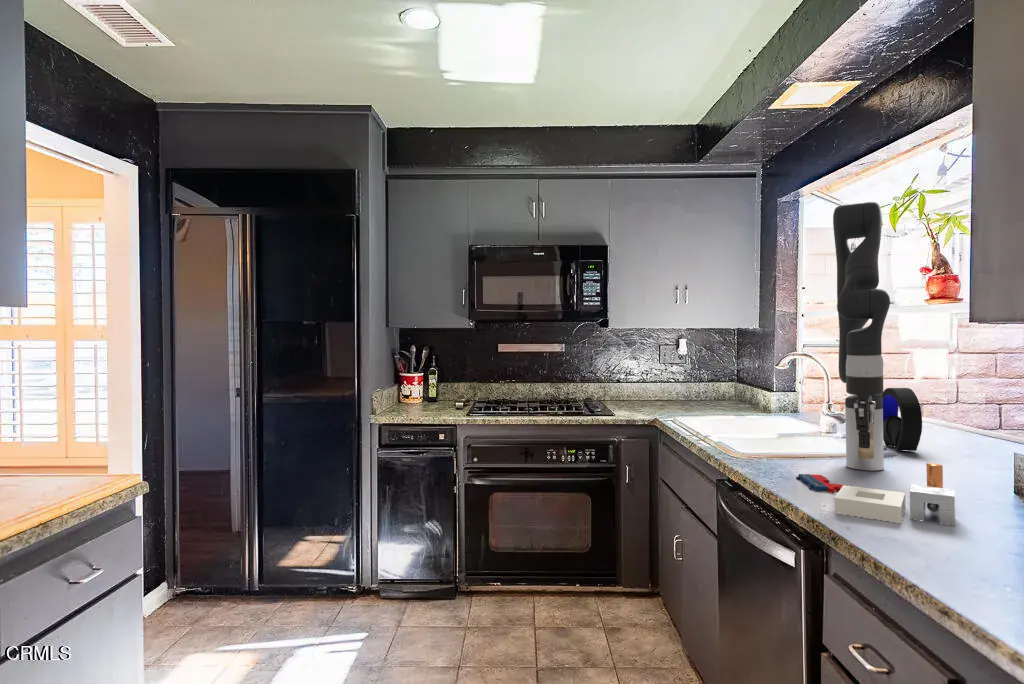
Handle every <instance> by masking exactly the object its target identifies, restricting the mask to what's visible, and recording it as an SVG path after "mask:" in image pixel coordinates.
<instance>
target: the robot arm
mask: <svg viewBox="0 0 1024 684" xmlns="http://www.w3.org/2000/svg"><path fill="white" fill-rule="evenodd" d="M832 224H833V225H832V227H833V237H834V238H833V239H834V245H835V246H834V247H835V256H836V300H837V301H836V302H837V303H836V310H837V314H838V325H839V326H838V327H839V328H838V329H839V331H838V332H839V334H838V335H839V337H838V338H839V341H838V375H839V379H840V381H841V382H842V383H843V384H845V389H846V393H847V394H849V396H846V398H845V399H844V400H845V401H844V406H845V407H844V411H845V415H844V417H845V418H844V419H845V465H846V467H848V468H850V469H855V470H860V471H868V472H869V471H871V472H872V471H874V472H875V471H882V470H884V468H885V463H884V462H885V460H884V452H885V451H884V445H885V444H884V440H883V399H882V394H883V392H884V358H883V356H882V350H883V349H882V337H883V329H884V325H885V321H886V318H887V315H888V312H889V309H890V305H891V297H890V296H889V294H888V292H887V291H886V290H884V288H878V287H879V283H880V276H879V275H880V272H879V254H880V253H879V252H880V247H881V241H882V240H881V239H882V231H883V230H882V227H883V226H882V225H883V215H882V208H881V206H880V204H879V203H878V202H875V201H864V202H858V203H849V204H842V205H838V206H837V207H835V208H834V211H833V214H832ZM861 238H862V239H863V240H862V242H860V244H858V245H857V246H856V247H855V248H854V250H853V251H852V249H851V248H850V245H849V241H848V240H852V239H861ZM870 320H871V323H870V324H869V325H868V326H865V325H866V324H867V323H868V321H870ZM869 416H870V418H869ZM871 422H873V443H874V458H873V459H863V458H859V457H858V433H857V430H858V432H859V447H860V448H870V431H871V429H870V423H871ZM861 423H866V426H862V425H861Z"/></svg>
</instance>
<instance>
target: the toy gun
mask: <svg viewBox="0 0 1024 684" xmlns="http://www.w3.org/2000/svg"><path fill="white" fill-rule="evenodd" d="M795 479H796V480H800V482H802V483H803V484H804V485H805V484H806V485H805V486H808V487H809V488H808V489H809V490H813V491H815V492H819V491H828V492H827V493H829V492H830V494H834V493H835V492H839V491H840V489H841V488H842V486H843V485H844V484H840V483H832V482H831V483H830V479H828V478H827V477H825V476H824V475H821V474H809V473H808V474H807V473H805V474H803V473H798V476H795ZM845 485H846V486H849V485H848V484H845ZM835 490H836V491H835Z"/></svg>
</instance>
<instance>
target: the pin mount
mask: <svg viewBox="0 0 1024 684" xmlns="http://www.w3.org/2000/svg"><path fill="white" fill-rule="evenodd" d="M955 492H956V490H955V489H951V488H944V487H943V488H936V487H927V485H919V484H911V485H910V489H909V520H910V519H916V520H923V521H924V522H925V520H926V515H925V514H926V508H927V507H926V504H927V503H932V504H939V524H940V523H942V524H941V525H943V524H948V525H947V526H950V525H953V526H952V527H955V525H956V502H955V499H956V497H955V495H956V494H955ZM924 519H925V520H924ZM916 520H915V521H916ZM923 521H922V522H923Z"/></svg>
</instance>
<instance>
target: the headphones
mask: <svg viewBox="0 0 1024 684" xmlns="http://www.w3.org/2000/svg"><path fill="white" fill-rule="evenodd" d="M882 399H883V444H884V445H885V446H886V447H892V446H895V447H894V448H895V451H900V450H909V451H908V452H910V451H911V452H912V451H917V450H918V446H919V444H920V442H921V436H922V432H923V415H922V409H921V404H920V402H919V400H918V397H917V394H916V393H915V391H913V389H911V388H909V387H886V388H885V389H883V394H882ZM899 412H900V416H899Z"/></svg>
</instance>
